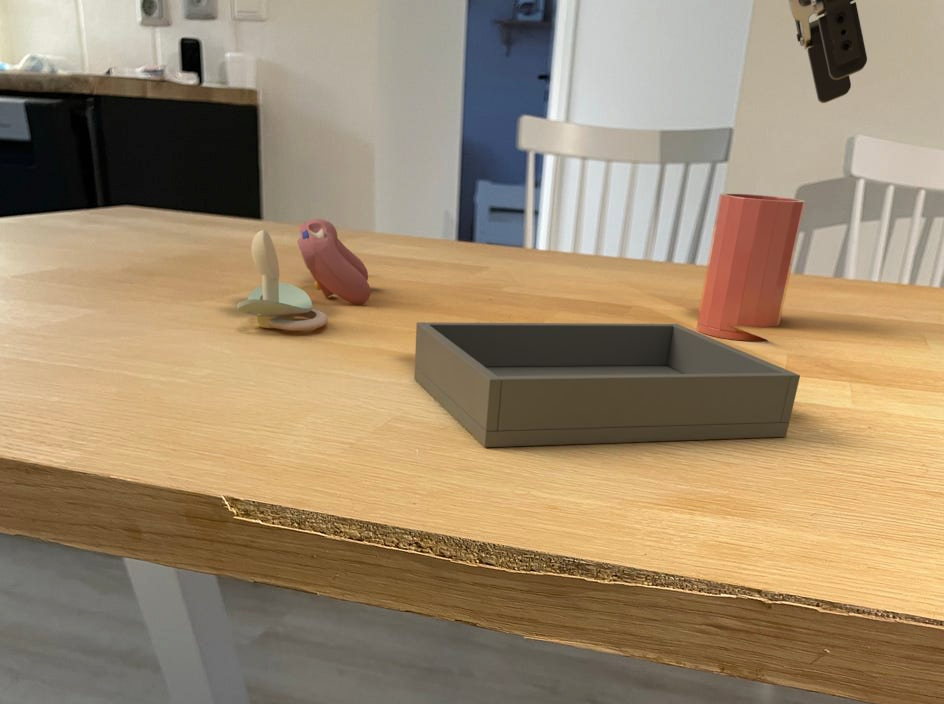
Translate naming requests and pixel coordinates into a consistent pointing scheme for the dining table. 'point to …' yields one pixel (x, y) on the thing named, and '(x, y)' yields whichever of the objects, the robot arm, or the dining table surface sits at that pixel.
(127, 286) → the dining table surface
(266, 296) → the pacifier
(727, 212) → the tumbler
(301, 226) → the pink owl figurine
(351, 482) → the dining table surface
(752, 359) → the shallow grey tray
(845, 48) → the robot arm
